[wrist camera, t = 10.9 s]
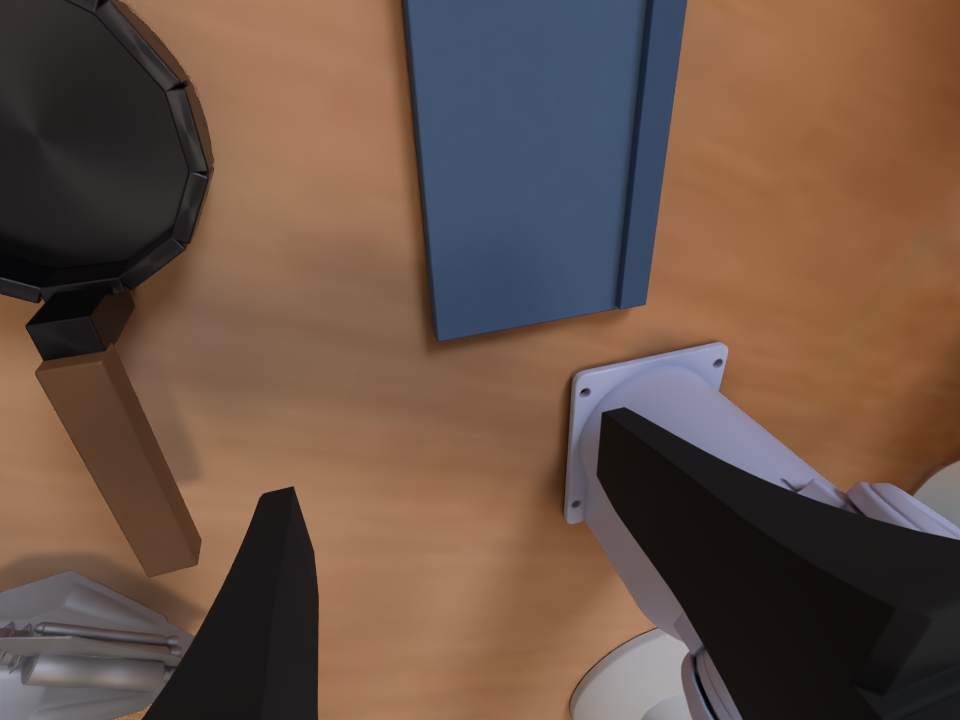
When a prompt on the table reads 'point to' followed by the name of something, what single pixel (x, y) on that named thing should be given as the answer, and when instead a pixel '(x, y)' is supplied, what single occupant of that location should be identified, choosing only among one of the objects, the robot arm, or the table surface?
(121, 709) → the spaceship
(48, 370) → the pan
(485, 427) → the table surface
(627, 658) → the candlestick
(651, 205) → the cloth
